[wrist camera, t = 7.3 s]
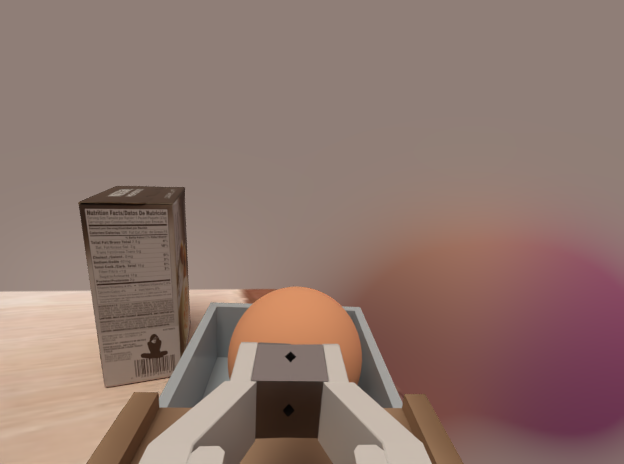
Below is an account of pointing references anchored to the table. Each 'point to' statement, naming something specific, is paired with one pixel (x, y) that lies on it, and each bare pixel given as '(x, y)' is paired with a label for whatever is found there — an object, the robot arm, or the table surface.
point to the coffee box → (138, 280)
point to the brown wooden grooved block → (264, 452)
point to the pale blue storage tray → (214, 360)
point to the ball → (299, 325)
